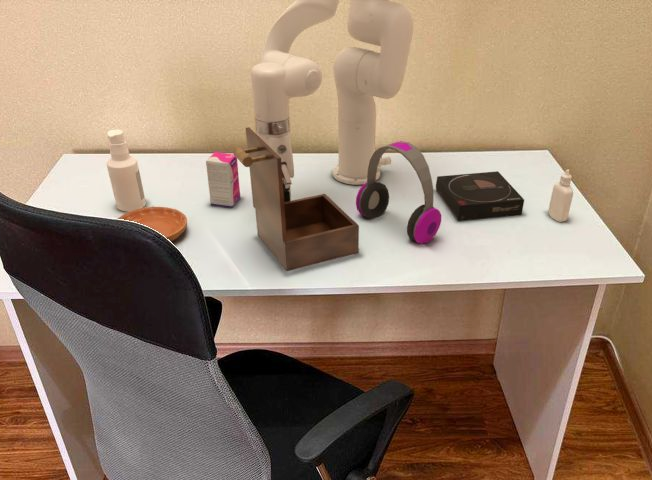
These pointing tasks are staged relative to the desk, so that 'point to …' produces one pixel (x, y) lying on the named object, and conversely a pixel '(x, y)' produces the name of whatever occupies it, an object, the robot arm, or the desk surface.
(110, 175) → the spray bottle
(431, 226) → the headphones
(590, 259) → the desk surface
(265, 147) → the lid
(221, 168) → the supplement box
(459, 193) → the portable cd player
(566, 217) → the eye dropper bottle
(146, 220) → the saucer
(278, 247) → the chest
